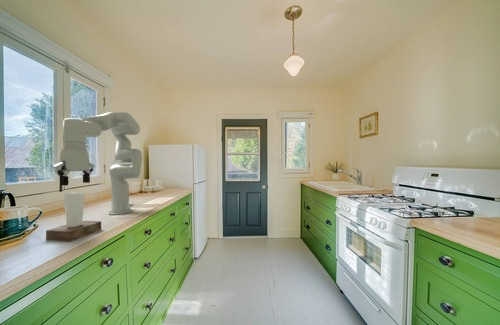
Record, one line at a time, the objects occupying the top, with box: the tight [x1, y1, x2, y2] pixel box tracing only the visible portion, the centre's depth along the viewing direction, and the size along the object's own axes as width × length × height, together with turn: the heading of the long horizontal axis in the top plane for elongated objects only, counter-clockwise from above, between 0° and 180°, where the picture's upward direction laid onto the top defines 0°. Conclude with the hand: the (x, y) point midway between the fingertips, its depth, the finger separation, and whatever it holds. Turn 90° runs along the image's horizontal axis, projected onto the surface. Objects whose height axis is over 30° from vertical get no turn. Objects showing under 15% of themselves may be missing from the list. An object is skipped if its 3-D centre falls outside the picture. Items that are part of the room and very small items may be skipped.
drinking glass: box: [63, 191, 85, 228], centre depth 87 cm, size 7×7×15 cm
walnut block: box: [45, 220, 102, 242], centre depth 87 cm, size 14×12×4 cm
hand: (76, 183), depth 88 cm, fingers open, 9 cm apart
